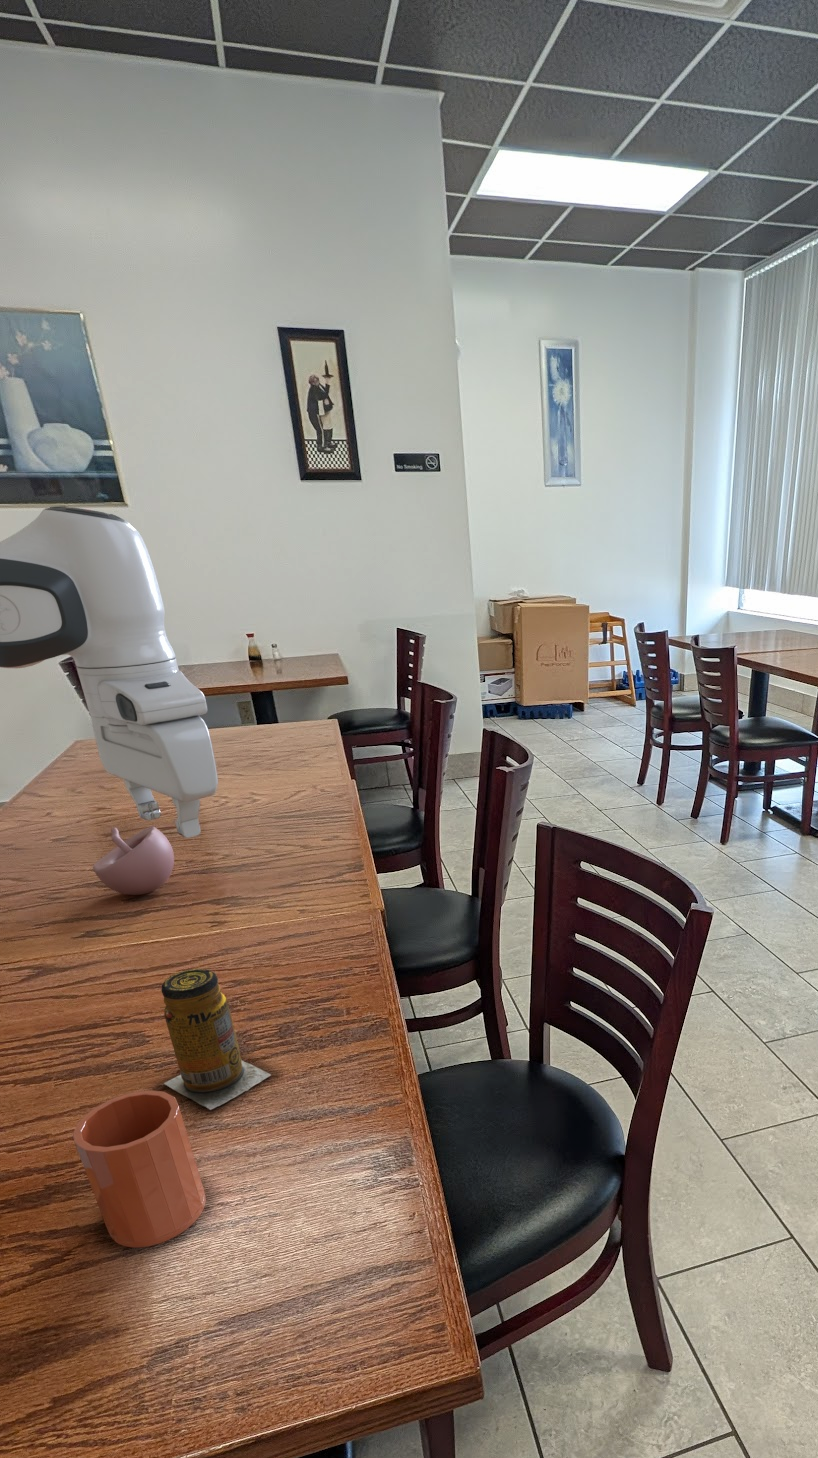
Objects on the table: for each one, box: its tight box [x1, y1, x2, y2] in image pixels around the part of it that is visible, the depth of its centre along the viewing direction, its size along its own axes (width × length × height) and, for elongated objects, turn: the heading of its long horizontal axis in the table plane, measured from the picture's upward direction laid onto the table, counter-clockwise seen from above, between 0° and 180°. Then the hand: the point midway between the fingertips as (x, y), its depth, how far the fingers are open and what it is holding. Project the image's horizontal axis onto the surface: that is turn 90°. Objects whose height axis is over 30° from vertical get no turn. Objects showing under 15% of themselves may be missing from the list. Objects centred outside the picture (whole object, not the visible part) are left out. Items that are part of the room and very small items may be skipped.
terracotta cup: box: [72, 1089, 207, 1249], centre depth 68 cm, size 8×8×10 cm
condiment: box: [160, 968, 272, 1111], centre depth 84 cm, size 7×8×12 cm
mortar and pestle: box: [92, 825, 175, 896], centre depth 134 cm, size 12×12×11 cm
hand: (169, 826), depth 87 cm, fingers open, 8 cm apart
